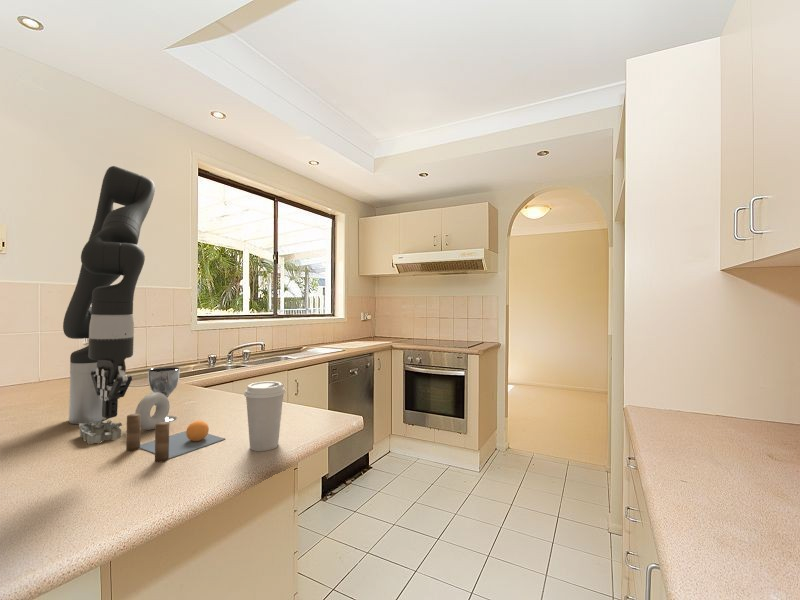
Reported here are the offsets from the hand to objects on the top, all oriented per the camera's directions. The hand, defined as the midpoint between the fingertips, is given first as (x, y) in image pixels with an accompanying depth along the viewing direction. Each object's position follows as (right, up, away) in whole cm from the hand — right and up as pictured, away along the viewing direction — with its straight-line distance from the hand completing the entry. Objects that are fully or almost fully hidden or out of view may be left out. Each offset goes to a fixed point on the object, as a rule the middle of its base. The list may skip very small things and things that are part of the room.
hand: (109, 416), depth 79 cm
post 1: (-2, -11, +9) cm, 14 cm away
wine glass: (-9, -11, +31) cm, 34 cm away
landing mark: (+8, -11, +13) cm, 19 cm away
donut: (-6, -11, +23) cm, 26 cm away
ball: (+11, -8, +15) cm, 20 cm away
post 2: (+9, -11, +3) cm, 14 cm away
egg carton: (-16, -11, +17) cm, 25 cm away
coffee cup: (+29, -11, +12) cm, 33 cm away
